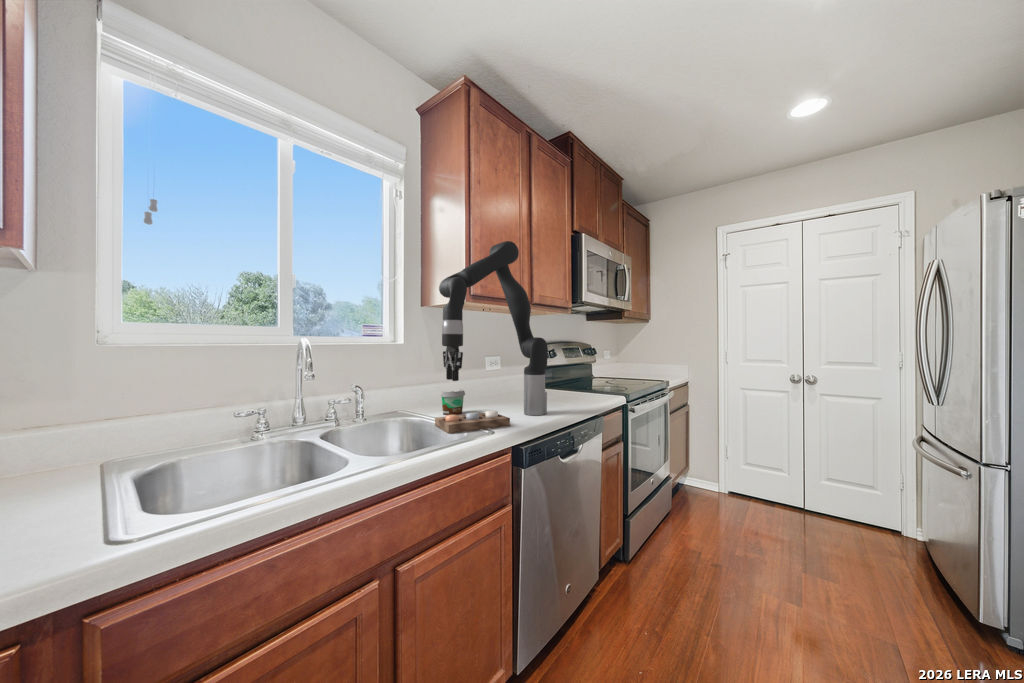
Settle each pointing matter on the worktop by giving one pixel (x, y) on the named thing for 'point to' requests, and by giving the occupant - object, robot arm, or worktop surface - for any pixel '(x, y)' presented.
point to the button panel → (471, 423)
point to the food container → (452, 402)
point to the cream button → (491, 414)
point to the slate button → (472, 416)
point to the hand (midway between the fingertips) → (452, 379)
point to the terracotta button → (451, 418)
